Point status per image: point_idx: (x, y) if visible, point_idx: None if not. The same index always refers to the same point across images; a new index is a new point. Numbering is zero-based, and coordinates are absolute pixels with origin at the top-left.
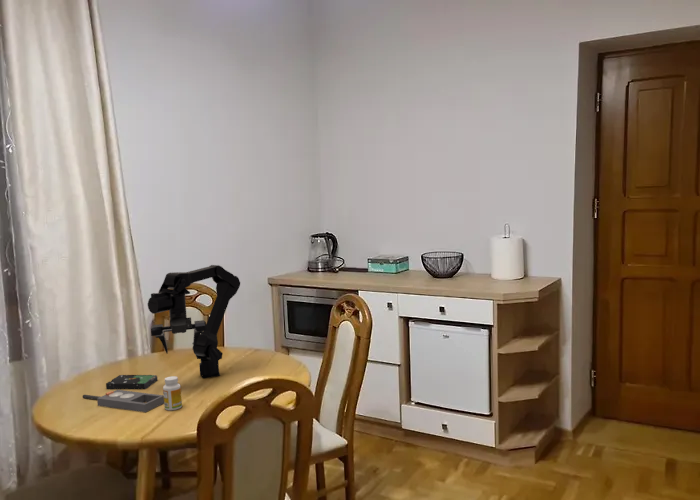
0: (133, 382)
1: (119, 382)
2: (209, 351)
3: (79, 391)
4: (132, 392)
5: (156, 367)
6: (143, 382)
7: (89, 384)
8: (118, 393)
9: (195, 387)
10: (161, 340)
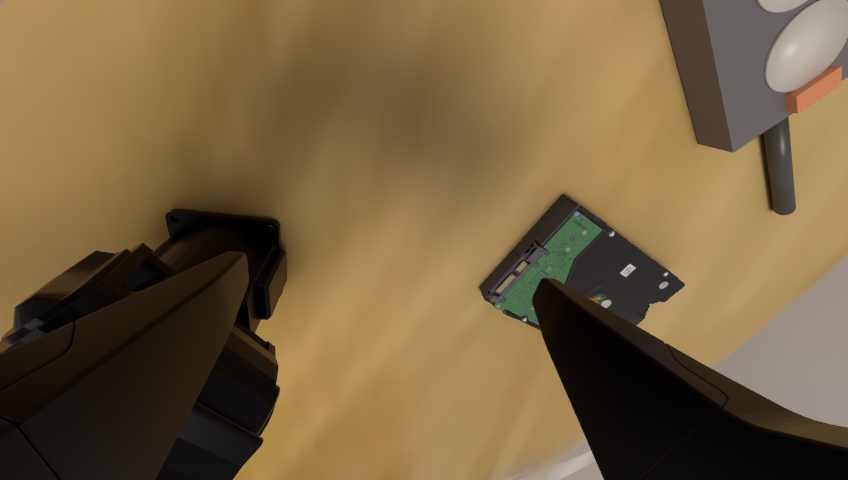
0: (608, 247)
1: (645, 275)
2: (81, 286)
3: (730, 287)
4: (727, 36)
5: (441, 413)
6: (575, 227)
7: (668, 339)
8: (789, 59)
9: (326, 66)
10: (777, 410)
